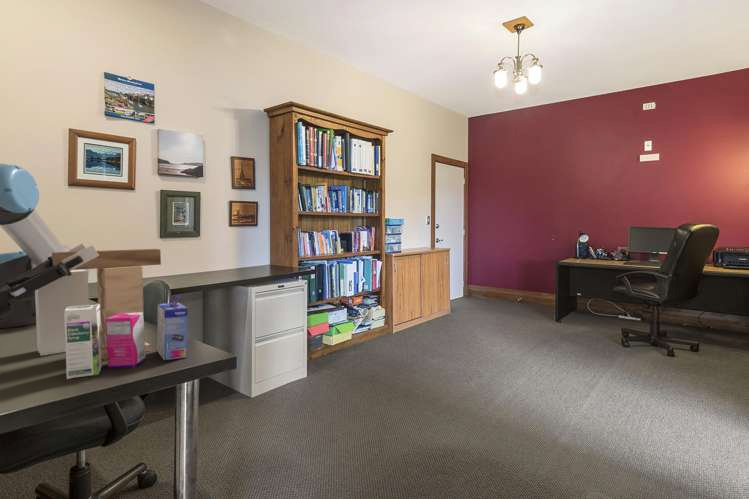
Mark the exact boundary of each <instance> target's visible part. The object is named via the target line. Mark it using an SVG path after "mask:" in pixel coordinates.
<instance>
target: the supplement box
mask: <svg viewBox="0 0 749 499" xmlns="http://www.w3.org/2000/svg"><path fill="white" fill-rule="evenodd" d="M105 323H106V339H107V356H108V359H107V368H108V369H134V368H136V367H137V366H139V365H140V364H141V363H143V362H145V361H146V360H147V357H146V352H145V342H146V340H145V339H146V338H145V320H143V312H138V313H118V314H116V315H113V316H111V317H109V318H106V319H105Z"/></svg>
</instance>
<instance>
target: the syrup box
mask: <svg viewBox="0 0 749 499" xmlns="http://www.w3.org/2000/svg"><path fill="white" fill-rule="evenodd" d="M64 326H65V344H66V352H65V365H66V366H65V369H66V370H65V374H66V376H65V377H66V380H70V379H73V378H74V379H75V378H83V377H84V378H85V377H90V376H91V377H92V376H99V374H100V372H101V369H102V366H103V359H102V353H101V324H100V304H98V303H97V304H89V305H85V306H70V307H67V308H66V309H65V311H64Z"/></svg>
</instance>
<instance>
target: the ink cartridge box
mask: <svg viewBox="0 0 749 499" xmlns="http://www.w3.org/2000/svg"><path fill="white" fill-rule="evenodd" d="M180 298H181V296H180V295H179V294H176V295H175V297H174V298H173V300H172V302H167V303H166V302H165V303H159V304H157V332H156V333H157V338H156V340H157V342H156V344H157V345H156V346H157V349H156V350H157V352H158V354H159V356H160V357H161V359H163V361H172V360H178V359H179V360H180V359H187V358H188V310H189V309H188V307H186V306H185V305H183V304H182V303H181V302H179V301H180Z"/></svg>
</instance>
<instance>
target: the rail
mask: <svg viewBox="0 0 749 499" xmlns="http://www.w3.org/2000/svg"><path fill="white" fill-rule="evenodd" d="M96 251H97V252H98V254H99V256H97V257H96V258H94V259H92V260H90V261H88V262H86V263H84V264H83V265H81V266H79V267H77V268H75V269H73V270H80V269H90V270H97V268H113V267H130V266H142V267H144V266H158V265H159V266H161V265H162V258H161V257H162V256H161V255H162V254H161V249H160V248H144V249H143V248H139V249H138V248H137V249H115V250H114V249H113V250H112V249H111V250H107V249H106V250H96ZM78 252H80V251H77V252H52V266H54V265H57V264H58V263H60V262H62V260H64V259H66V258H68V257H70V256H72V255H74V254H76V253H78Z"/></svg>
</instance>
